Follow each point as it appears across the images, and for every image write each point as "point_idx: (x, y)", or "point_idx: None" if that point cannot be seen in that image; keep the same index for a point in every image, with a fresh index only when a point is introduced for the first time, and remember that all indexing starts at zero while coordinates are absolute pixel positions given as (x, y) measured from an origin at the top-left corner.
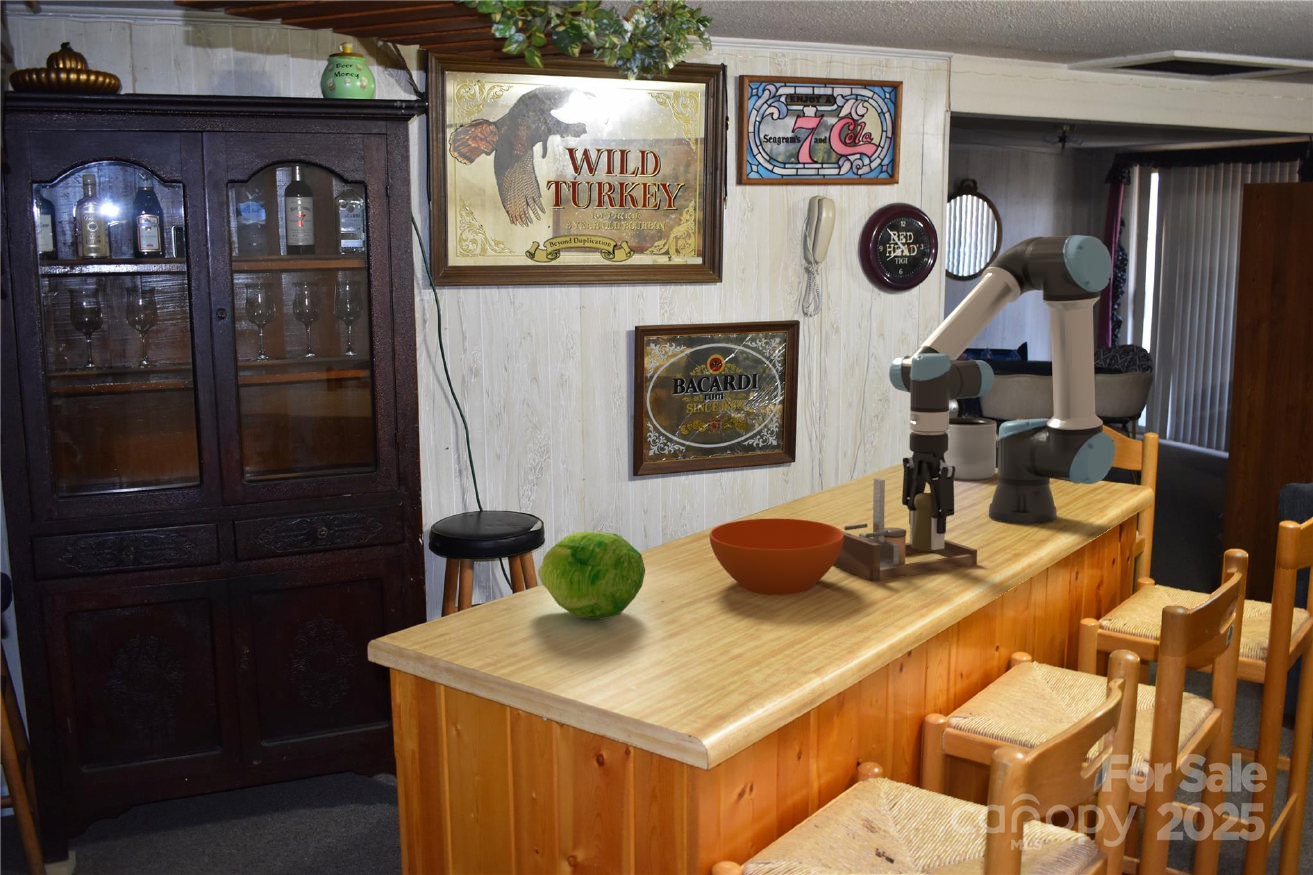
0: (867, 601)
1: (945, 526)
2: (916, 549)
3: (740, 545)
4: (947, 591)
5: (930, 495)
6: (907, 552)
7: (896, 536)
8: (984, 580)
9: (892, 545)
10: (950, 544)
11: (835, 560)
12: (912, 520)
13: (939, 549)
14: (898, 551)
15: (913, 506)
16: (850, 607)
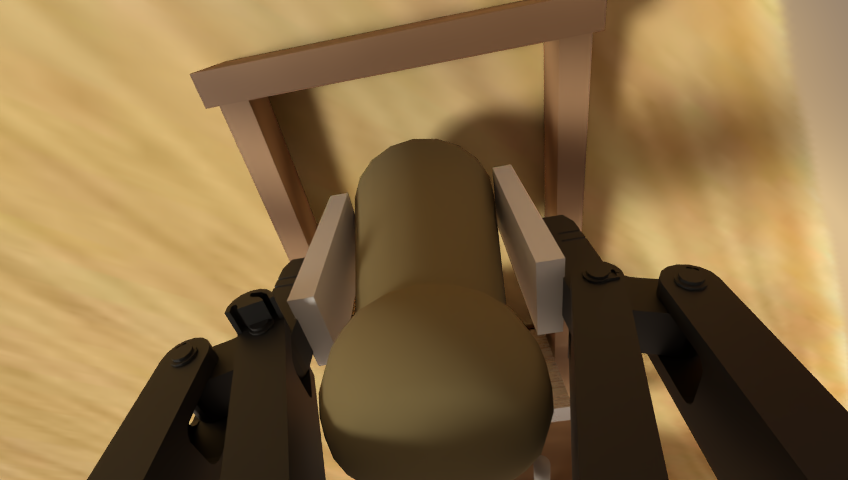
0: (679, 434)
1: (584, 240)
2: (287, 164)
3: None
4: (761, 280)
5: (508, 464)
6: (306, 204)
7: None
8: (777, 108)
9: (563, 419)
10: (414, 66)
11: None
12: (349, 319)
13: (488, 175)
14: (564, 385)
15: (305, 372)
16: (687, 461)
